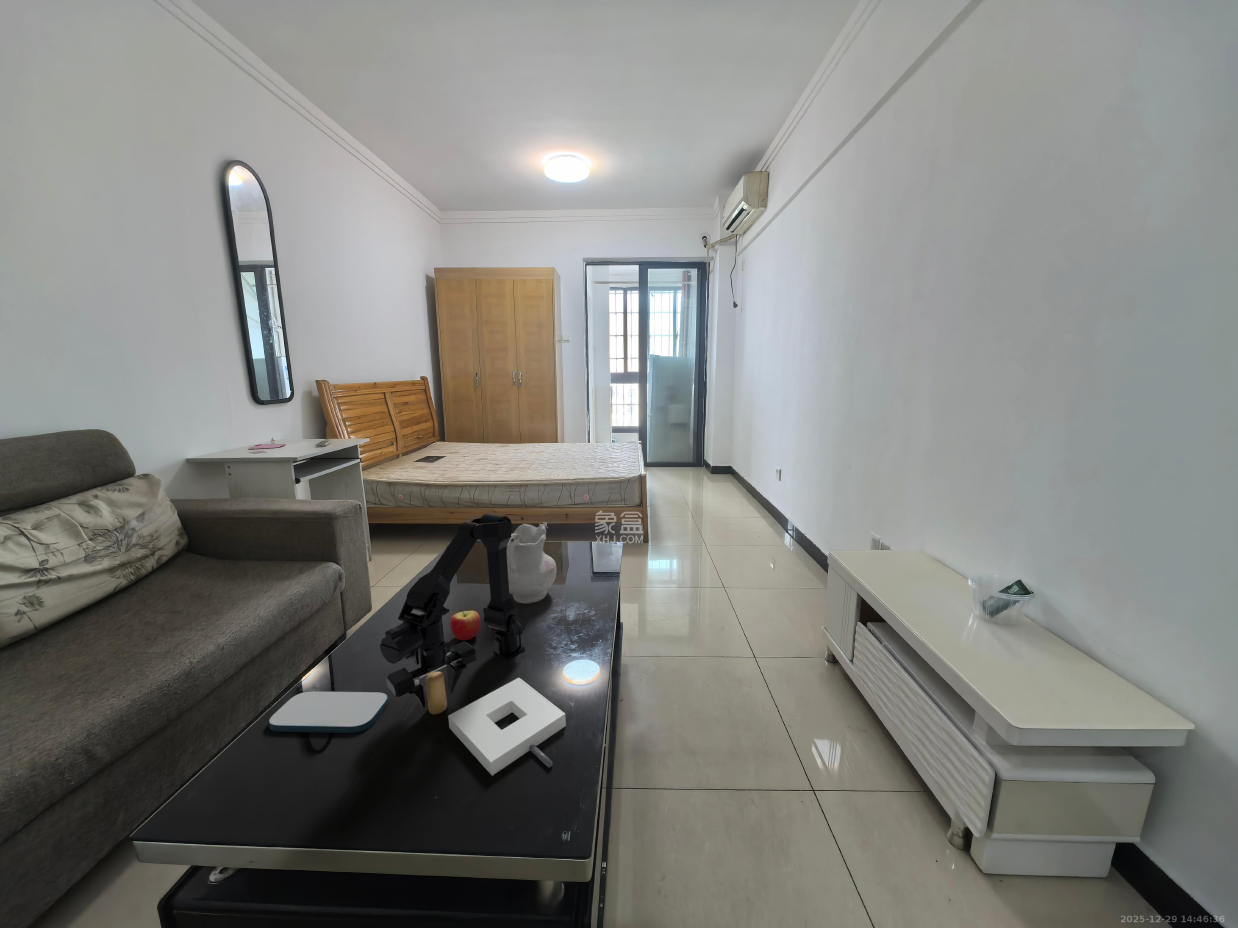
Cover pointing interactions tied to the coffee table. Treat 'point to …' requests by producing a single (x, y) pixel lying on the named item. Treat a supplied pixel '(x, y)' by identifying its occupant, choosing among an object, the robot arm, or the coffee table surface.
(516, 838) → the coffee table surface
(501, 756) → the grey board with hole
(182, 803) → the coffee table surface
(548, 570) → the ceramic pitcher
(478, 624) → the apple
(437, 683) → the tan peg
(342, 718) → the external hard drive
